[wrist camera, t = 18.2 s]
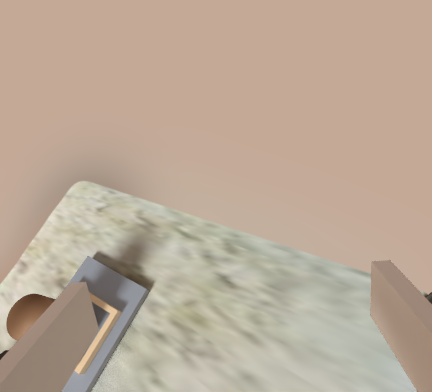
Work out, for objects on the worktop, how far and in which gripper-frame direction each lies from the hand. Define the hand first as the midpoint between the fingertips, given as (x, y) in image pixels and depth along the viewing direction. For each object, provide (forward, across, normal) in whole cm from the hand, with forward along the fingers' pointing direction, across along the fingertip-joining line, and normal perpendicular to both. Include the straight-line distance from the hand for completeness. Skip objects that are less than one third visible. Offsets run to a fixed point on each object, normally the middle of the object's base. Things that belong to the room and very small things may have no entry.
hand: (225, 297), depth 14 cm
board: (+26, -25, -22) cm, 42 cm away
